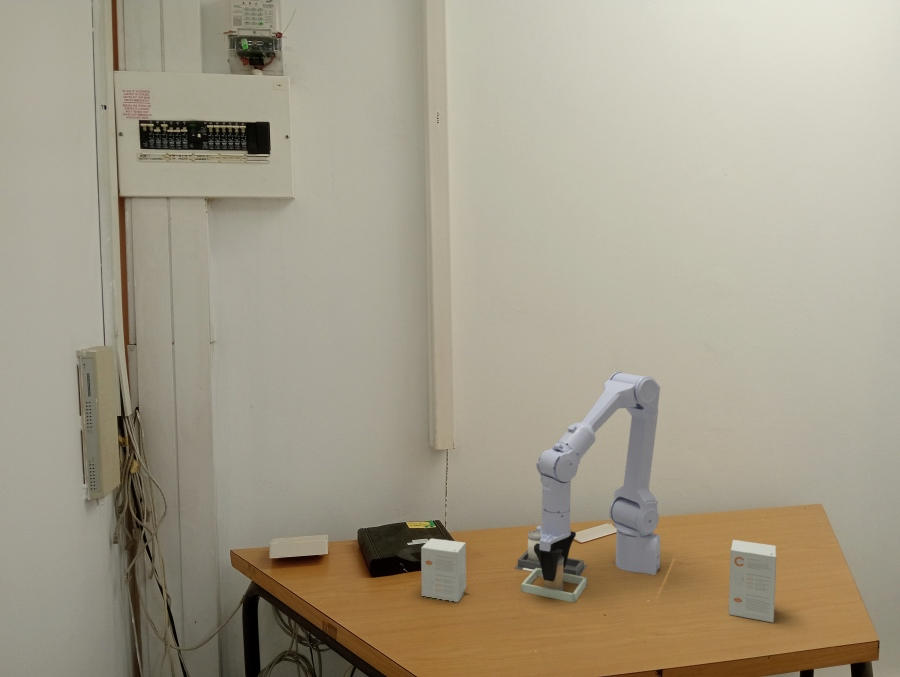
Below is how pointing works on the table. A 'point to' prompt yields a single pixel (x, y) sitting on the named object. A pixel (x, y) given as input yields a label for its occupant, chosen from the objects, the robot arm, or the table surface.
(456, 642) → the table surface
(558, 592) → the tray
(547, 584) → the cylinder
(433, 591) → the small box
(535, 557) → the cylinder
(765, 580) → the small box
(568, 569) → the tray
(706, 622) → the table surface
